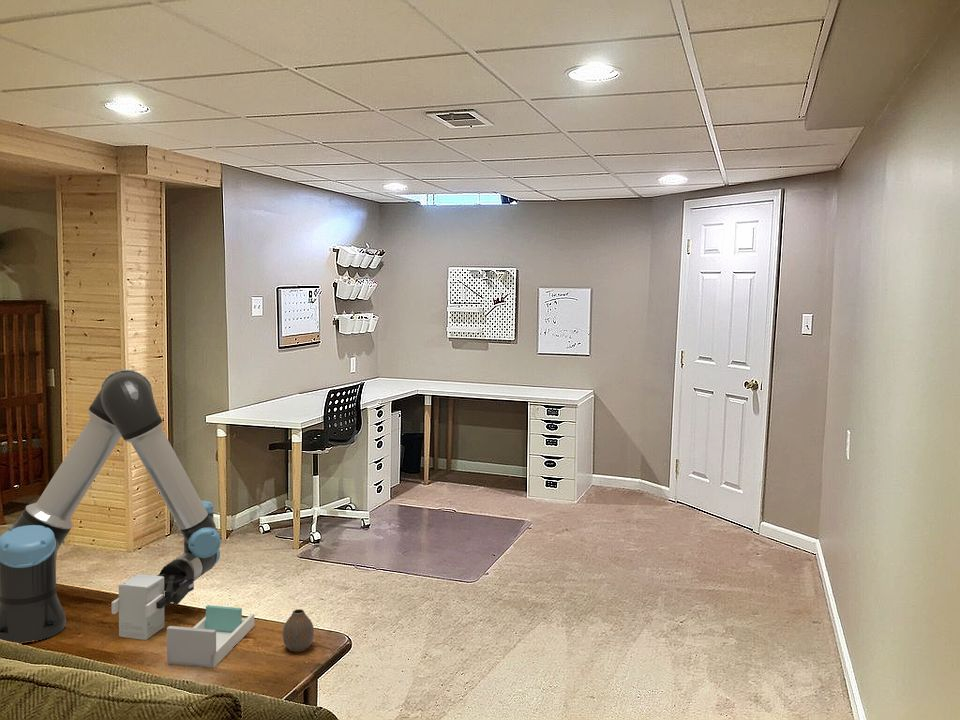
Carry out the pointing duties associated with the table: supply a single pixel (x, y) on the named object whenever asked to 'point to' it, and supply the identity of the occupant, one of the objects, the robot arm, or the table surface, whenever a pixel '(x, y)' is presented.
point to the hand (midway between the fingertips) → (130, 609)
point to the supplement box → (140, 606)
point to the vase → (298, 631)
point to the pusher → (223, 618)
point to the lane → (203, 643)
